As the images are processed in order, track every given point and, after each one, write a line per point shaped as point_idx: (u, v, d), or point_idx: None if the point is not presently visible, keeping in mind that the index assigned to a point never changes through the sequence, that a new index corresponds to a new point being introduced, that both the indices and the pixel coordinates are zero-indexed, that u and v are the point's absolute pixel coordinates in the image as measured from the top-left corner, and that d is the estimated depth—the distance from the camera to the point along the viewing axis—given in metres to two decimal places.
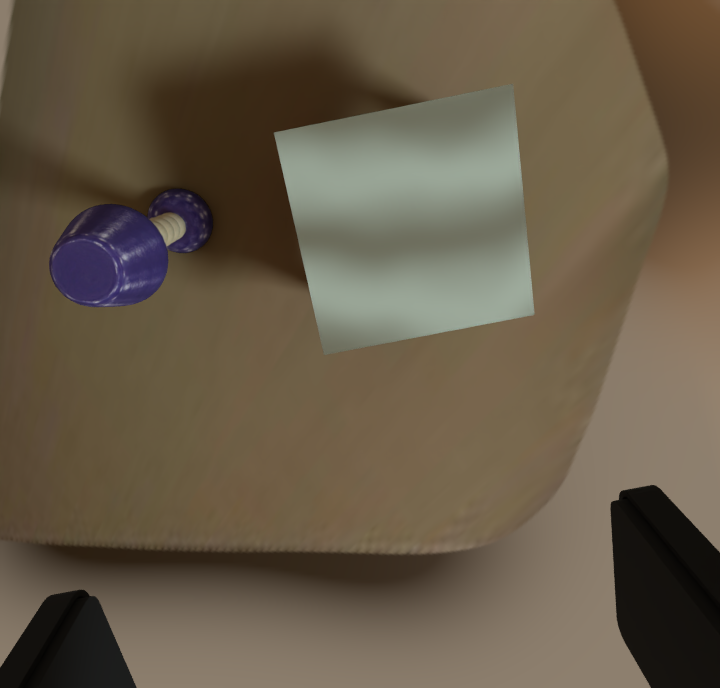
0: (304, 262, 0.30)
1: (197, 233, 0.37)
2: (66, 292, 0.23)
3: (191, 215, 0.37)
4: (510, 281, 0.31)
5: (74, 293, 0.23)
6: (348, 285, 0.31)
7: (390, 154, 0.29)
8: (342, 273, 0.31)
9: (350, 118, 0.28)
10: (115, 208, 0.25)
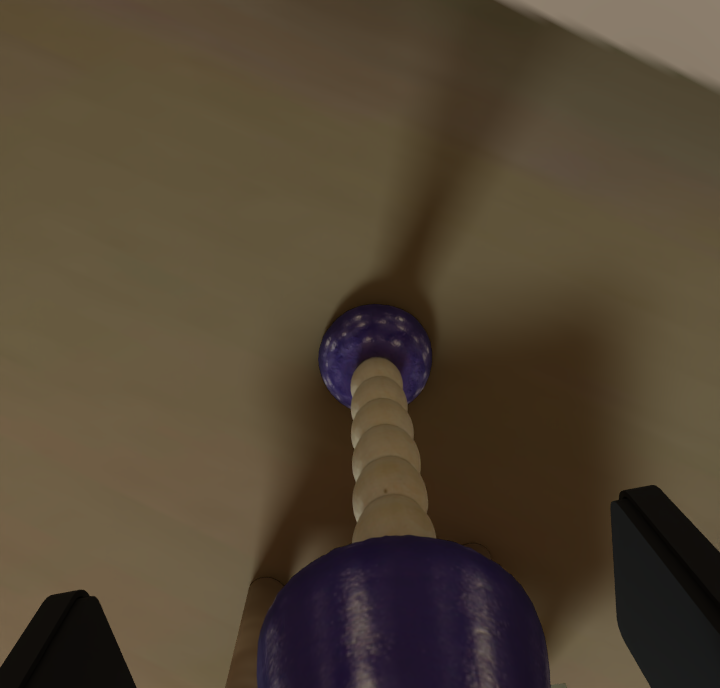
0: None
1: None
2: None
3: None
4: None
5: None
6: None
7: None
8: None
9: None
10: None
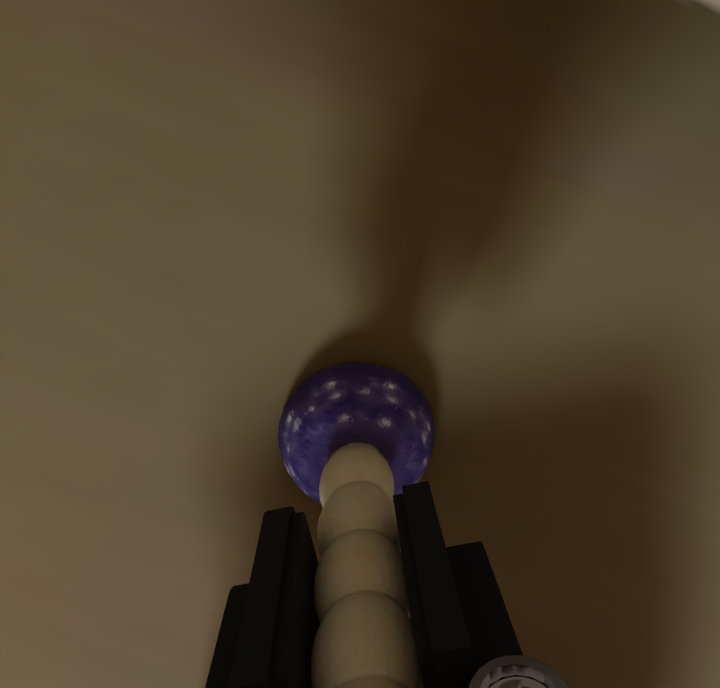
0: None
1: None
2: None
3: None
4: None
5: None
6: None
7: None
8: None
9: None
10: None
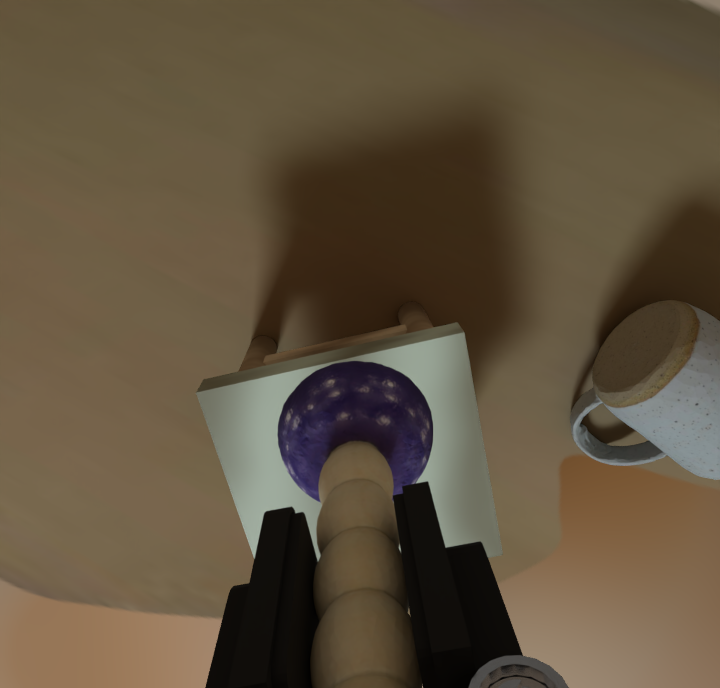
0: (314, 367, 0.25)
1: None
2: None
3: None
4: None
5: None
6: None
7: (439, 452, 0.26)
8: None
9: (476, 411, 0.26)
10: None
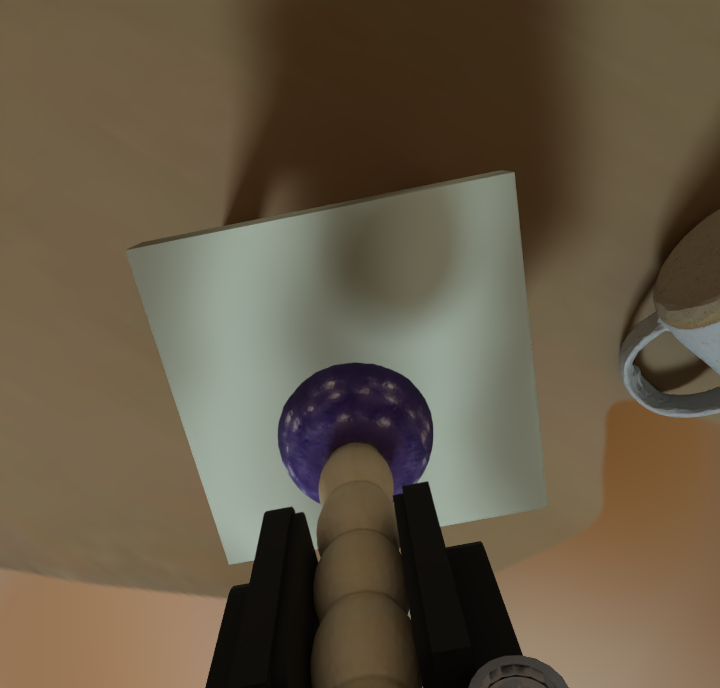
0: (296, 217, 0.17)
1: None
2: None
3: None
4: None
5: None
6: (259, 293, 0.18)
7: (468, 355, 0.19)
8: (280, 283, 0.18)
9: (524, 296, 0.18)
10: None
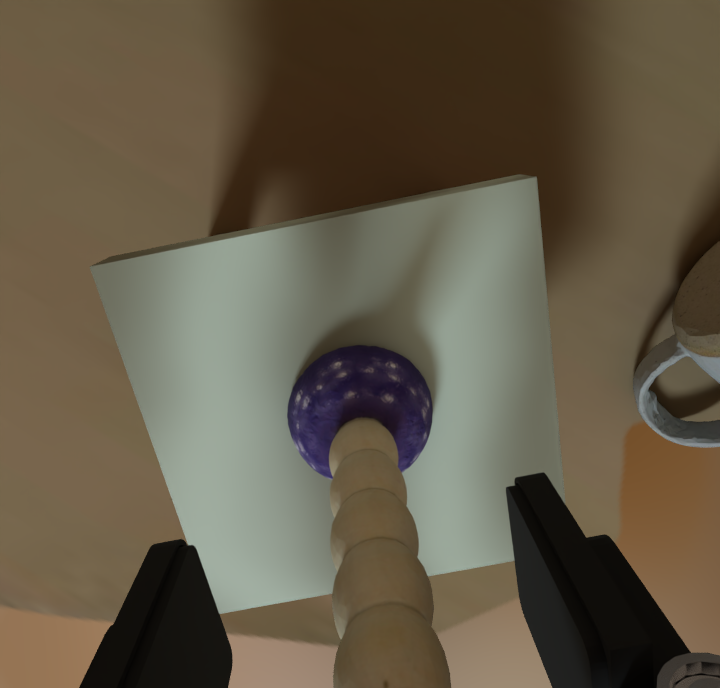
0: (286, 229, 0.15)
1: None
2: None
3: None
4: (267, 576, 0.19)
5: None
6: (244, 315, 0.16)
7: (482, 383, 0.17)
8: (268, 303, 0.16)
9: (546, 317, 0.16)
10: None
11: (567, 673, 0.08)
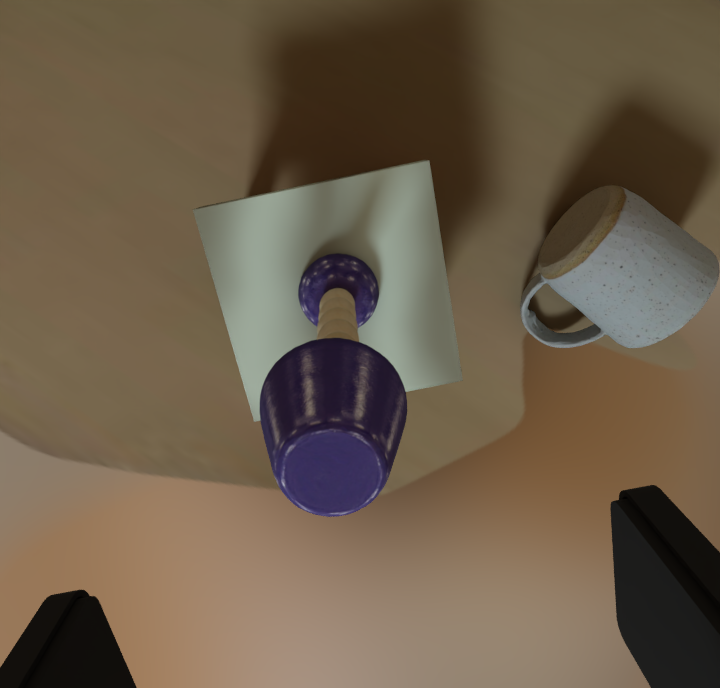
0: (297, 189, 0.28)
1: None
2: (297, 445, 0.14)
3: None
4: None
5: (295, 457, 0.14)
6: (274, 237, 0.29)
7: (406, 276, 0.30)
8: (287, 230, 0.29)
9: (439, 238, 0.29)
10: None
11: None
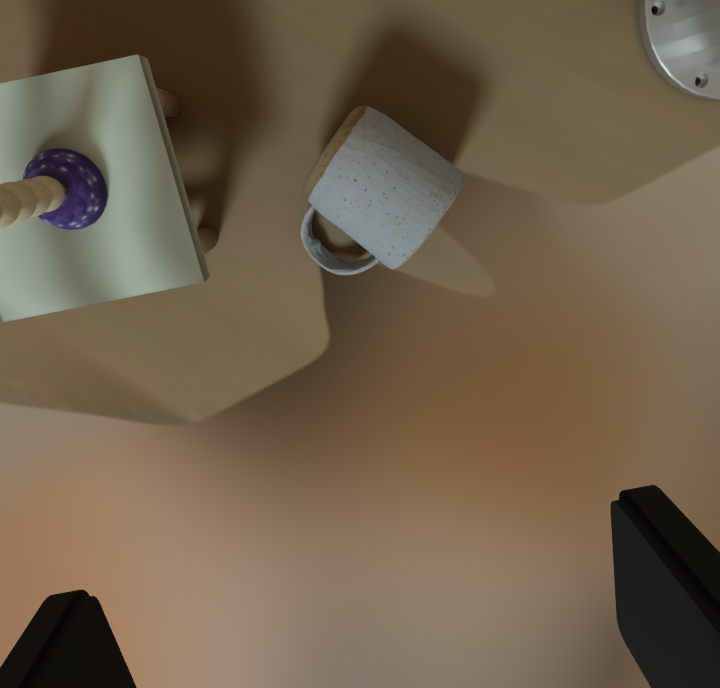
0: (12, 82, 0.29)
1: (48, 218, 0.30)
2: None
3: (68, 214, 0.30)
4: (31, 296, 0.33)
5: None
6: None
7: (133, 173, 0.31)
8: (8, 124, 0.30)
9: (159, 134, 0.30)
10: None
11: None
